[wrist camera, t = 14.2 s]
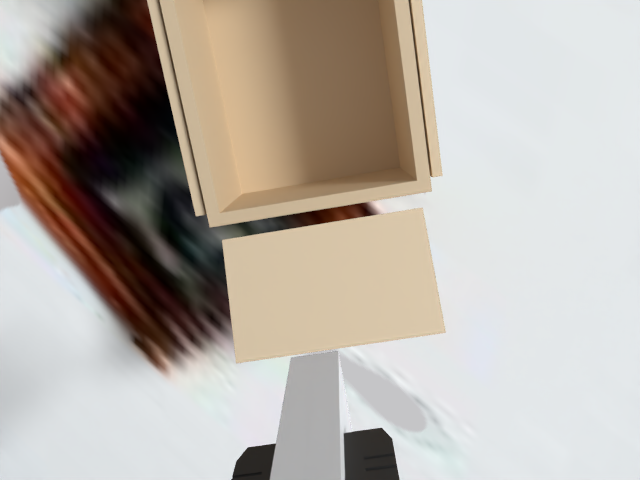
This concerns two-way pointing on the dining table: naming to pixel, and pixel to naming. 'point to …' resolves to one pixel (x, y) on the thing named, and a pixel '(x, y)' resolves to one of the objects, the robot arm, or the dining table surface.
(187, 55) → the carton
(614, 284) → the dining table surface
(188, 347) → the dining table surface
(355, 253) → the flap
